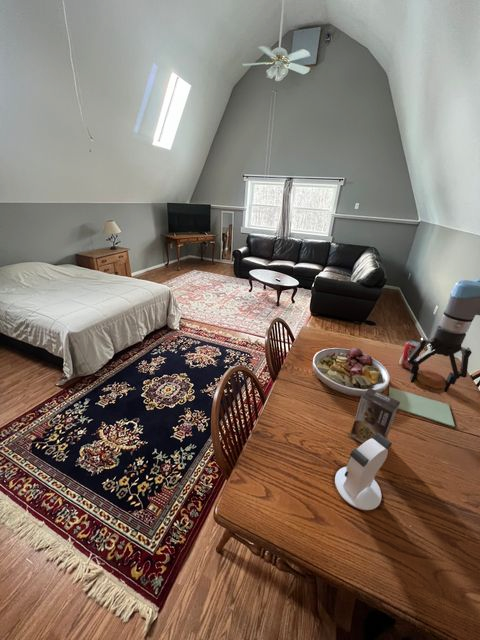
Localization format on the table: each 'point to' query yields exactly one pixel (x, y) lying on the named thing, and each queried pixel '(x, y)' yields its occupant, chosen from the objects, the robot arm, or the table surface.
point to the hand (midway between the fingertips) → (427, 385)
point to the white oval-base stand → (363, 474)
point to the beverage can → (408, 353)
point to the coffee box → (374, 415)
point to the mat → (422, 406)
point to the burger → (430, 381)
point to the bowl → (350, 371)
